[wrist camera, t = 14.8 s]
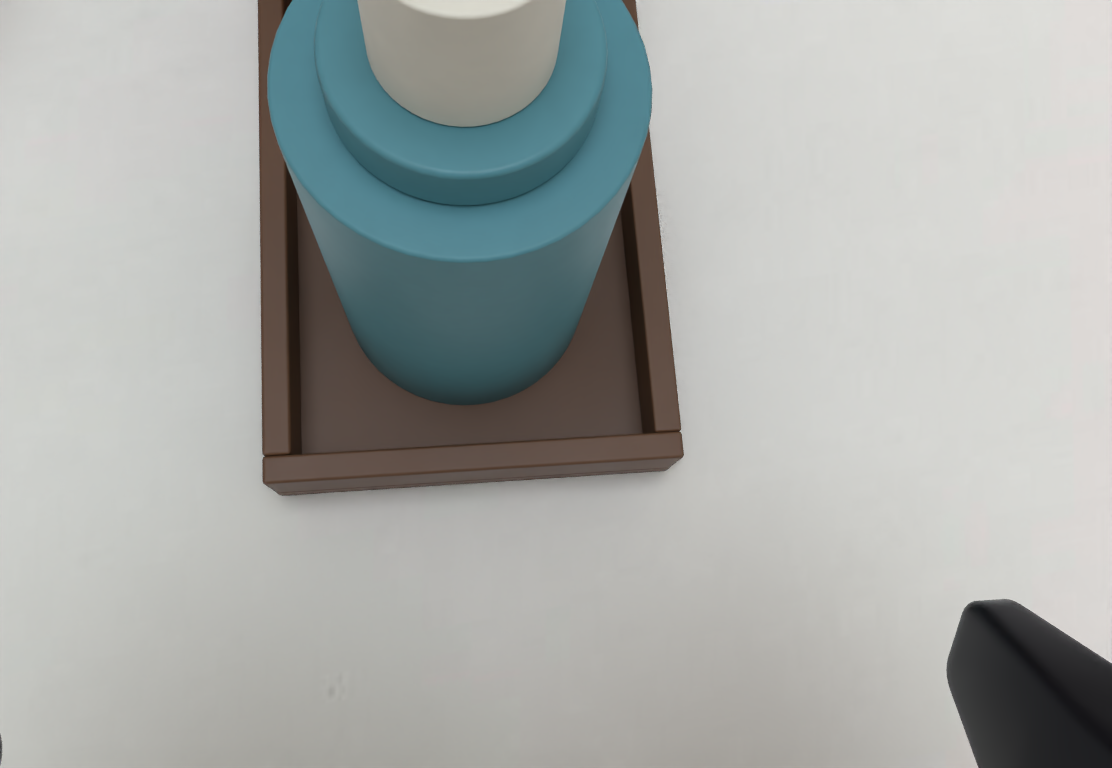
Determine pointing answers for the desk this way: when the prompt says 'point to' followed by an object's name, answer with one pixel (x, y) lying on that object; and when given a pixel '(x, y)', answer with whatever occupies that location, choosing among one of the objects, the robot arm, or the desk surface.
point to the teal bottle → (461, 173)
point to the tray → (446, 429)
